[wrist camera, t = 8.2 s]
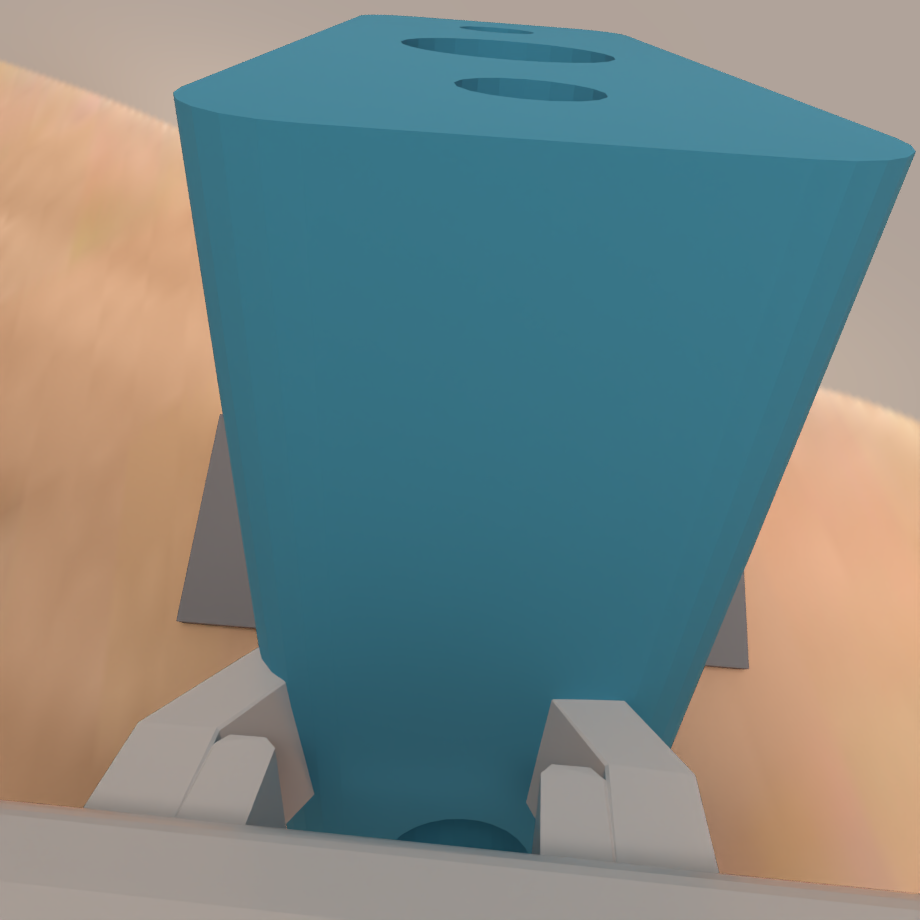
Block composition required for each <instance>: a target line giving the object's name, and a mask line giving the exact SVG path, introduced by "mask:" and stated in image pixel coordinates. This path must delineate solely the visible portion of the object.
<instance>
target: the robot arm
mask: <svg viewBox="0 0 920 920" xmlns="http://www.w3.org/2000/svg"><path fill="white" fill-rule="evenodd" d="M313 795H314V791H313V787H312V783H311V779H310V776H309V772H308V768H307V764H306V760H305V757H304V753H303V749H302V745H301V742H300V738H299V734H298V730H297V727H296V723H295V719H294V716H293V712H292V708H291V704H290V700H289V695H288V691H287V686H286V682H285V681H284V680H282V679H281V678H279V677H278V676H276V675H275V674H273V673H272V672H271V671H270V669H269V668H268V667H267V665H266V664H265V663H264V661H263V660H262V658H261V654H260V649H259V647H258V648H256V649H255V650H253V651H251V652H250V653H248V654H247V655H245V656H243V657H242V658H240V659H239V660H237V661H235V662H234V663H232V664H231V665H229V666H227V667H226V668H224V669H223V670H221V671H219V672H218V673H216V674H215V675H213V676H211V677H210V678H208V679H207V680H205V681H203V682H202V683H200V684H199V685H197V686H195V687H194V688H192V689H191V690H189V691H187V692H186V693H184V694H183V695H181V696H179V697H178V698H176V699H175V700H173V701H171V702H170V703H168V704H167V705H165V706H163V707H162V708H160V709H159V710H157V711H156V712H154V713H152V714H151V715H149V716H148V717H146V718H144V719H143V720H141V721H140V722H138V723H137V725H136V727H135V728H134V730H133V731H132V733H131V734H130V736H129V737H128V739H127V740H126V742H125V744H124V745H123V747H122V748H121V750H120V751H119V753H118V754H117V756H116V758H115V759H114V761H113V762H112V764H111V765H110V767H109V768H108V770H107V772H106V773H105V775H104V776H103V778H102V779H101V781H100V782H99V784H98V785H97V787H96V789H95V790H94V792H93V793H92V795H91V796H90V798H89V799H88V801H87V803H86V804H85V806H84V807H83V808H78V807H68V806H58V805H49V804H39V803H29V802H19V801H9V800H0V920H920V894H919V893H909V892H899V891H889V890H880V889H870V888H860V887H850V886H840V885H830V884H820V883H810V882H800V881H791V880H781V879H771V878H761V877H751V876H741V875H731V874H722V873H719V870H718V866H717V862H716V858H715V854H714V850H713V845H712V841H711V837H710V833H709V829H708V825H707V821H706V817H705V813H704V809H703V804H702V800H701V796H700V792H699V788H698V784H697V780H696V776H695V774H694V773H693V772H692V771H691V770H690V769H689V768H688V767H687V766H686V765H685V764H684V763H683V762H682V761H681V760H680V758H679V757H678V756H677V755H676V754H675V753H674V752H673V751H672V750H671V749H670V748H669V747H668V746H667V745H666V744H665V743H664V742H663V741H662V740H661V738H660V737H659V736H658V735H657V734H656V733H655V732H654V731H653V730H652V729H651V728H650V727H649V726H648V725H647V724H646V723H645V722H644V721H643V720H642V719H641V717H640V716H639V715H638V714H637V713H636V712H635V711H634V710H633V709H632V708H631V707H630V706H629V705H628V704H627V703H626V702H625V701H615V700H576V699H553V700H552V701H551V705H550V709H549V713H548V717H547V720H546V724H545V728H544V732H543V736H542V740H541V744H540V748H539V752H538V756H537V760H536V764H535V768H534V772H533V776H532V780H531V784H530V788H529V792H528V796H527V800H526V803H527V805H528V807H529V809H530V810H531V812H532V814H533V816H534V817H535V819H536V820H535V829H534V837H533V846H532V854H528V853H519V852H509V851H499V850H490V849H480V848H470V847H460V846H450V845H441V844H431V843H421V842H411V841H401V840H392V839H382V838H372V837H362V836H352V835H343V834H333V833H323V832H313V831H303V830H293V829H286V823H287V822H288V821H289V820H290V819H291V818H292V817H293V816H294V815H295V814H296V813H297V812H298V811H299V810H300V809H301V808H302V807H303V806H304V805H305V804H306V802H307V801H308V800H309V799H310V798H311V797H312V796H313Z"/></svg>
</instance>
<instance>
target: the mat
mask: <svg viewBox="0 0 920 920" xmlns="http://www.w3.org/2000/svg"><path fill="white" fill-rule="evenodd" d="M176 621H179V622H183V623H195V624H207V625H219V626H231V627H243V628H255V629H256V626H255V619H254V613H253V606H252V600H251V593H250V587H249V580H248V574H247V567H246V561H245V555H244V548H243V542H242V535H241V529H240V522H239V516H238V509H237V503H236V496H235V490H234V483H233V477H232V470H231V464H230V457H229V451H228V444H227V438H226V432H225V425H224V419H223V414H220V416H219V421H218V426H217V431H216V435H215V440H214V445H213V450H212V454H211V459H210V464H209V469H208V473H207V478H206V483H205V487H204V492H203V497H202V502H201V506H200V511H199V516H198V521H197V525H196V530H195V535H194V540H193V544H192V549H191V554H190V559H189V563H188V568H187V573H186V577H185V582H184V587H183V592H182V596H181V601H180V606H179V611H178V615H177V620H176ZM705 666H711V667H723V668H735V669H749V663H748V643H747V622H746V602H745V582H744V571H743V574H742V576H741V579H740V581H739V583H738V586H737V588H736V591H735V593H734V596H733V598H732V600H731V603H730V605H729V608H728V610H727V613H726V615H725V618H724V620H723V622H722V625H721V627H720V630H719V632H718V635H717V637H716V639H715V642H714V644H713V647H712V649H711V652H710V654H709V656H708V659H707V661H706V664H705Z"/></svg>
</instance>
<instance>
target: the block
mask: <svg viewBox="0 0 920 920" xmlns="http://www.w3.org/2000/svg"><path fill="white" fill-rule="evenodd" d="M173 95H174V101H175V108H176V114H177V121H178V127H179V134H180V140H181V147H182V153H183V160H184V166H185V173H186V179H187V186H188V192H189V199H190V205H191V211H192V218H193V224H194V231H195V237H196V244H197V250H198V257H199V263H200V270H201V276H202V283H203V289H204V296H205V302H206V309H207V315H208V322H209V328H210V334H211V341H212V347H213V354H214V360H215V367H216V373H217V380H218V386H219V393H220V399H221V406H222V412H223V419H224V425H225V432H226V438H227V444H228V451H229V457H230V464H231V470H232V477H233V483H234V490H235V496H236V503H237V509H238V516H239V522H240V529H241V535H242V542H243V548H244V555H245V561H246V567H247V574H248V580H249V587H250V593H251V600H252V606H253V613H254V619H255V626H256V632H257V639H258V645H259V649H260V654H261V658H262V660H263V661H264V663H265V664H266V665H267V667H268V668H269V669H270V671H271V672H272V673H273V674H275V675H276V676H278V677H279V678H281V679H282V680H284V681H285V682H286V686H287V691H288V695H289V700H290V704H291V708H292V712H293V716H294V719H295V723H296V727H297V730H298V734H299V738H300V742H301V745H302V749H303V753H304V757H305V760H306V764H307V768H308V772H309V776H310V779H311V783H312V787H313V791H314V795H313V796H312V797H311V798H310V799H309V800H308V801H307V802H306V804H305V805H304V806H303V807H302V808H301V809H300V810H299V811H298V812H297V813H296V814H295V815H294V816H293V817H292V818H291V819H290V820H289V821H288V822H287V823H286V826H287V829H293V830H303V831H313V832H323V833H333V834H343V835H352V836H362V837H372V838H382V839H392V840H401V841H411V842H421V843H431V844H441V845H450V846H460V847H470V848H480V849H490V850H499V851H509V852H519V853H528V854H532V846H533V837H534V829H535V820H536V819H535V817H534V816H533V814H532V812H531V810H530V809H529V807H528V805H527V803H526V800H527V796H528V792H529V788H530V784H531V780H532V776H533V772H534V768H535V764H536V760H537V756H538V752H539V748H540V744H541V740H542V736H543V732H544V728H545V724H546V720H547V717H548V713H549V709H550V705H551V701H552V700H553V699H576V700H615V701H625V702H626V703H627V704H628V705H629V706H630V707H631V708H632V709H633V710H634V711H635V712H636V713H637V714H638V715H639V716H640V717H641V719H642V720H643V721H644V722H645V723H646V724H647V725H648V726H649V727H650V728H651V729H652V730H653V731H654V732H655V733H656V734H657V735H658V736H659V737H660V738H661V740H662V741H663V742H664V743H665V744H666V745H667V746H668V747H669V748H670V749H671V747H672V744H673V742H674V739H675V737H676V734H677V732H678V730H679V727H680V725H681V722H682V720H683V717H684V715H685V713H686V710H687V708H688V705H689V703H690V700H691V698H692V695H693V693H694V691H695V688H696V686H697V683H698V681H699V678H700V676H701V674H702V671H703V669H704V666H705V664H706V661H707V659H708V656H709V654H710V652H711V649H712V647H713V644H714V642H715V639H716V637H717V635H718V632H719V630H720V627H721V625H722V622H723V620H724V618H725V615H726V613H727V610H728V608H729V605H730V603H731V600H732V598H733V596H734V593H735V591H736V588H737V586H738V583H739V581H740V579H741V576H742V574H743V571H744V569H745V566H746V564H747V561H748V559H749V557H750V554H751V552H752V549H753V547H754V544H755V542H756V540H757V537H758V535H759V532H760V530H761V527H762V525H763V523H764V520H765V518H766V515H767V513H768V510H769V508H770V505H771V503H772V501H773V498H774V496H775V493H776V491H777V488H778V486H779V484H780V481H781V479H782V476H783V474H784V471H785V469H786V466H787V464H788V462H789V459H790V457H791V454H792V452H793V449H794V447H795V445H796V442H797V440H798V437H799V435H800V432H801V430H802V428H803V425H804V423H805V420H806V418H807V415H808V413H809V410H810V408H811V406H812V403H813V401H814V398H815V396H816V393H817V391H818V389H819V386H820V384H821V381H822V379H823V376H824V374H825V371H826V369H827V367H828V364H829V362H830V359H831V357H832V354H833V352H834V350H835V347H836V345H837V342H838V340H839V337H840V335H841V332H842V330H843V328H844V325H845V323H846V320H847V318H848V315H849V313H850V311H851V308H852V306H853V303H854V301H855V298H856V296H857V293H858V291H859V288H860V286H861V284H862V281H863V279H864V276H865V274H866V271H867V269H868V267H869V264H870V262H871V259H872V257H873V254H874V252H875V250H876V247H877V244H878V242H879V240H880V238H881V235H882V233H883V230H884V228H885V225H886V223H887V220H888V218H889V215H890V213H891V210H892V208H893V206H894V203H895V201H896V198H897V196H898V194H899V191H900V189H901V186H902V184H903V181H904V179H905V177H906V174H907V172H908V169H909V167H910V164H911V162H912V160H913V157H914V154H915V152H916V151H915V150H914V149H913V147H912V146H911V145H909V144H907V143H905V142H903V141H901V140H899V139H897V138H895V137H892V136H889V135H887V134H884V133H881V132H879V131H876V130H873V129H871V128H868V127H866V126H863V125H860V124H858V123H855V122H852V121H850V120H847V119H845V118H842V117H839V116H837V115H834V114H831V113H828V112H826V111H823V110H821V109H818V108H815V107H813V106H810V105H807V104H805V103H802V102H800V101H797V100H794V99H792V98H789V97H787V96H784V95H781V94H778V93H776V92H773V91H771V90H768V89H765V88H763V87H760V86H757V85H755V84H752V83H749V82H747V81H744V80H742V79H739V78H736V77H734V76H731V75H729V74H726V73H723V72H721V71H718V70H715V69H713V68H710V67H707V66H704V65H702V64H700V63H697V62H694V61H692V60H689V59H686V58H684V57H681V56H679V55H676V54H673V53H670V52H668V51H665V50H663V49H660V48H657V47H655V46H652V45H649V44H647V43H644V42H642V41H639V40H636V39H634V38H631V37H628V36H626V35H622V34H615V33H609V32H600V31H592V30H582V29H569V28H557V27H544V26H531V25H530V26H529V25H518V24H505V23H491V22H478V21H465V20H452V19H437V18H425V17H412V16H394V15H361V16H358V17H356V18H353V19H351V20H348V21H346V22H343V23H341V24H338V25H335V26H333V27H330V28H328V29H326V30H323V31H321V32H318V33H316V34H313V35H310V36H308V37H305V38H303V39H300V40H298V41H295V42H293V43H290V44H288V45H285V46H283V47H280V48H278V49H275V50H273V51H270V52H268V53H265V54H263V55H260V56H258V57H255V58H253V59H250V60H248V61H245V62H242V63H240V64H238V65H235V66H233V67H230V68H228V69H225V70H222V71H220V72H218V73H215V74H212V75H210V76H207V77H205V78H203V79H200V80H197V81H195V82H192V83H190V84H187V85H185V86H182V87H180V88H179V89H177V90H176V91H175V92H174V93H173Z"/></svg>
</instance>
